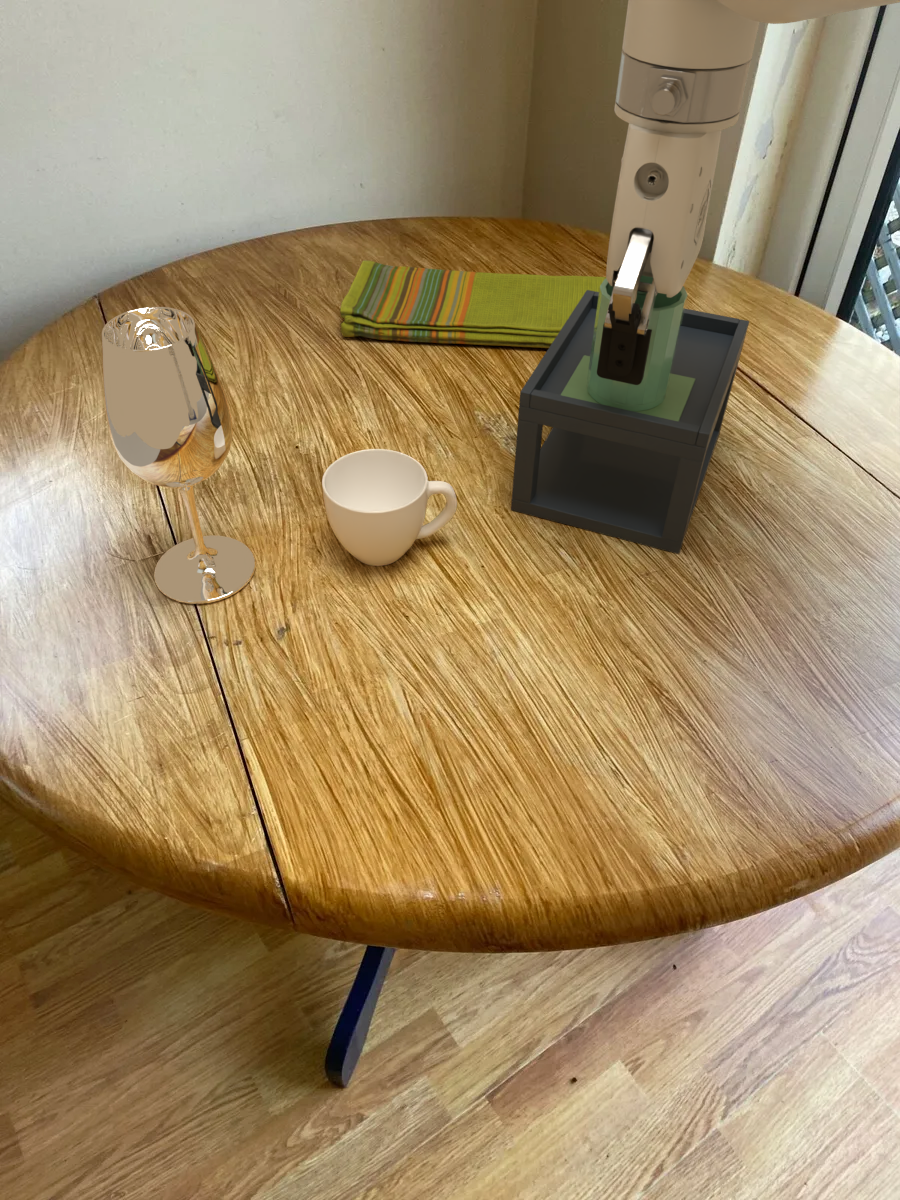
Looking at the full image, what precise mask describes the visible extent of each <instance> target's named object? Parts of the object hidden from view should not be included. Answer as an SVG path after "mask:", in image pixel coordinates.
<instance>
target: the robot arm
mask: <svg viewBox="0 0 900 1200" xmlns="http://www.w3.org/2000/svg"><path fill="white" fill-rule="evenodd" d="M899 3H900V0H628V1H627V7H626V16H625V24H624V29H623V30H624V31H623V38H622V49H621V52H620V53H621V54H620V60H619V61H620V62H619V69H618V77H617V85H616V93H615V101H614V102H615V103H614V109H613V111H614V114H615V115H616V117H618V118H619V119H620V120H622V121H624V122H625V123H627V124H628V126H627V131H626V136H625V137H626V138H625V141H624V142H625V143H624V148H623V153H622V157H621V160H620V170H619V175H618V176H619V178H618V183H617V187H616V188H617V189H616V194H615V201H614V207H613V213H612V219H611V220H612V221H611V227H610V235H609V241H608V249H607V257H606V267H605V269H606V270H605V277H606V279H607V281H608V283H609V284H610V285H611V286H612V287H614V288H613V291H612V295H611V299H610V303H609V307H608V310H607V314H606V318H605V322H604V325H603V332H602V339H601V346H600V353H599V360H598V367H597V375H598V376H599V377H601V378H605V379H610V380H614V381H619V382H624V383H628V384H633V385H639V384H640V383H641V382H642V380H643V377H644V371H645V366H646V361H647V355H648V350H649V344H650V339H651V333H652V330H651V329H648V325H649V322H650V318H651V314H652V311H653V307H654V303H655V299H656V296H657V293H662V294H667V297H670V298H671V297H673V296H675V295H676V294H678V293H679V292H680V290H681V289H682V287H683V286H684V285H685V283H686V281H687V279H688V277H689V275H690V274H691V271H692V270H693V266H694V265H695V262H696V261H697V258H698V255H699V254H700V252H701V248H702V245H703V240H704V235H705V230H706V225H707V224H706V223H707V218H708V212H709V207H710V200H711V195H712V189H713V184H714V178H715V173H716V168H717V162H718V156H719V151H720V144H721V136H722V131H724V130H727V129H729V128H732V127H733V126H735V125H737V123H738V121H739V119H740V114H741V109H742V106H743V105H742V104H743V100H744V95H745V91H746V86H747V82H748V77H749V73H750V67H751V64H752V57H753V54H754V49H755V46H756V40H757V36H758V31H759V27H760V23H762V24H772V25H778V24H779V25H781V24H792V23H798V22H801V21H808V20H813V19H818V18H825V17H830V16H833V15H836V14H841V13H847V12H853V11H857V10H862V9H863V10H864V9H868V8H869V9H870V8H874V7H875V8H876V7H882V6H888V5H893V4H899ZM642 276H648V277H653V280H652V284H650V283H645V282H640V280H641V277H642ZM637 294H638V295H643V296H646V298H645V301H644V305H643V309H642V312H641V309H640V305H639V304H637V303H635V301H636V298H637Z"/></svg>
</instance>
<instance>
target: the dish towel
mask: <svg viewBox="0 0 900 1200" xmlns="http://www.w3.org/2000/svg"><path fill="white" fill-rule="evenodd" d="M604 279H606V276H591V275H590V276H589V275H546V274H529V273H528V274H526V273H525V274H523V273H498V272H497V273H496V272H482V271H481V272H480V271H467V270H465V271H464V270H452V269H451V270H450V269H441V268H440V269H439V268H437V269H436V268H429V267H428V268H426V267H416V266H402V265H401V266H398V265H389V264H384V263H380V262H376V261H373V260H366V259H365V260H362V261H361V264H360V265H359V267H358V270H357V272H356V273H355V277H354V279H353V281H352V283H351V284H350V287H349V289H348V291H347V294H346V295H344V297H343V299H342V301H341V304H340V307H339V312H340V313H339V315H340V318H341V319H344V320H343V322H341V323H340V333H341V335H342V336H343V337H346V338H353V337H362V338H365V339H366V338H367V339H371V340H381V341H398V342H399V341H400V342H409V343H410V342H411V343H431V344H433V343H434V344H457V345H458V344H459V345H460V344H461V345H475V346H476V345H477V346H478V345H479V346H480V345H481V346H497V347H498V346H500V347H501V346H502V347H519V348H520V347H521V348H541V349H549V347H550V346H551V344H552V343H553V341H554V340H555V338H556V337H557V335H558V334H559V332H560V330H561V329H562V327H563V326H564V324H565V323H566V321H567V320H568V318H569V317H570V315H571V314H572V312H573V311H574V309H575V308H576V306H577V304H578V303H579V301H580V300H581V298H582V297H583V295H584V294H585V292H586V291H587V290H590V291H595V292H599V289H600V285H601V284H602V282H603V281H604Z"/></svg>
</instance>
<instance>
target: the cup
mask: <svg viewBox="0 0 900 1200" xmlns="http://www.w3.org/2000/svg"><path fill="white" fill-rule="evenodd" d="M325 469H326V470H325V471H324V473H323V475H322V477H321V478H322V479H321V488H322V498H323V505H324V509H325V514H326V518H327V521H328V523H329V526H330V528H331V530H332V532H333V535H334V536H335V538H336V539H337V540H338V542H339V543H340V544H341V546H342V547H343V548H344V549H345V550H346V551H347V552H348V553H349V554H350V555H351V556H353V558H355V559H356V560H358V561H359V562H360V563H362V564H364V565H367V566H373V567H382V566H388V565H391V564H393V563H395V562H397V561H398V560H400V559H401V558H402V557H403V556H404V555H405V554H407V552H408V551H409V550H410V548H411V547H412V546H413V545H414V543H415V541H416V540H421V539H426V538H428V537H431V536H433V535H435V534H436V533H437V532H439V531H440V530H442V529H443V528H444V527H446V525H447V524H448V523H450V521H451V520H452V519H453V518H454V516H455V514H456V512H457V509H458V499H457V494H456V491H455V489H454V487H453V486H452V485H451V483H449V482H446V481H443V480H429V478H428V474H427V471H426V469H425V467H424V466H423V465H422V464H421V463H420V462H419V461H418V460H417V459H415V458H413V457H412V456H410V455H409V454H407V453H404V452H401V451H397V450H392V449H386V448H367V449H362V450H357V451H353V452H350V453H347V454H345V455H343V456H340V457H339V458H338V459H336V460H334V461H333V462H332V463H331V464H329V466H327V468H325ZM434 495H443V496H444V498H445V504H444V507H443V508H442V510H441V511H440V512H439V514H437V515H436V516H435V517H434V518H433V519H432V520H431V521H429V522H428V523H426V524H424V522H425V519H426V514H427V509H428V502H429V499H430V497H432V496H434Z"/></svg>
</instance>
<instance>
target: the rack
mask: <svg viewBox="0 0 900 1200" xmlns="http://www.w3.org/2000/svg"><path fill="white" fill-rule="evenodd" d="M598 297H599V292H595V291H590V290H587V291H586V292H585V294H584V295H583V297H582V298H581V300H580V301H579V303H578V304H577V306H576V308H575V309H574V311H573V312H572V314H571V315H570V317H569V318H568V320H567V321H566V323H565V324H564V326H563V327H562V329H561V330H560V332H559V334H558V335H557V337H556V338H555V340H554V341H553V343H552V344H551V346H550V347H549V348H547V350H546V352H545V353H544V355H543V357H542V358H541V359H540V361H539V363H538V364H537V365H536V367H535V369H534V370H533V372H532V374H531V375H530V376H529V378H528V380H527V381H526V383H525V384H524V385H523V387H522V388H521V390H520V392H519V403H518V414H517V416H518V417H517V429H516V442H515V454H514V465H513V466H514V467H513V477H512V478H513V479H512V480H513V481H512V491H511V503H510V510H511V511H514V512H517V513H520V514H524V515H529V516H533V517H536V518H541V519H545V520H547V521H551V522H555V523H559V524H563V525H567V526H571V527H575V528H578V529H582V530H586V531H589V532H594V533H598V534H601V535H604V536H609V537H612V538H616V539H620V540H624V541H627V542H632V543H636V544H639V545H643V546H646V547H651V548H654V549H658V550H662V551H666V552H670V553H674V554H678V555H679V554H680V553H681V549H682V546H683V543H684V541H685V538H686V536H687V531H688V528H689V526H690V523H691V519H692V516H693V513H694V510H695V507H696V504H697V502H698V500H699V496H700V493H701V490H702V487H703V484H704V481H705V478H706V475H707V472H708V469H709V466H710V463H711V460H712V457H713V454H714V452H715V448H716V444H717V442H718V440H719V436H720V433H721V430H722V425H723V422H724V418H725V415H726V411H727V407H728V403H729V399H730V396H731V392H732V388H733V384H734V381H735V377H736V374H737V369H738V367H739V361H740V360H741V359H740V358H741V356H742V355H741V354H742V351H743V347H744V343H745V340H746V336H747V332H748V328H749V324H750V320H746V319H741V318H737V317H731V316H725V315H721V314H716V313H710V312H705V311H700V310H695V309H689V308H685V310H684V315H683V320H682V324H681V329H680V334H679V339H678V343H677V348H676V353H675V358H674V362H673V367H672V372H671V377H670V381H669V386H668V389H667V393H666V397H665V399H664V401H663V402H662V403H661V404H659V405H658V406H656V407H654V408H652V409H648V410H644V411H629V410H625V409H620V408H616V407H611V406H607V405H602V404H600V403H598V402H597V401H596V400H594V399H593V398H592V397H591V396H590V394H589V393H588V390H587V382H588V380H587V377H588V369H589V362H590V355H591V348H592V340H593V333H594V326H595V318H596V311H597V304H598ZM544 426H546V427H551V430H550V431H549V433H548V435H547V436H546V438H545V440H544V442H543V444H542V439H543V430H544V429H543V428H544Z"/></svg>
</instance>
